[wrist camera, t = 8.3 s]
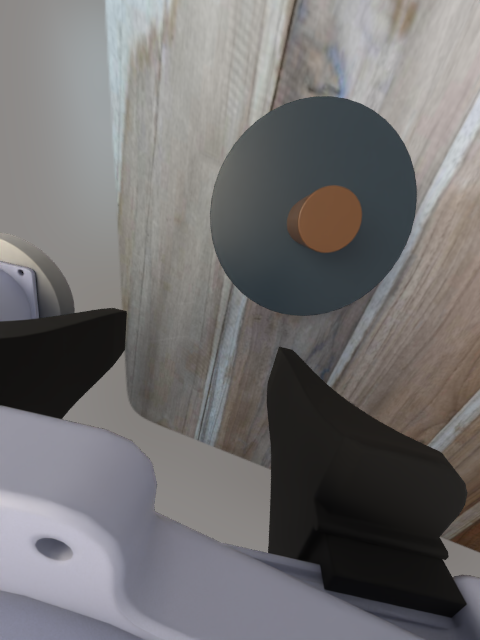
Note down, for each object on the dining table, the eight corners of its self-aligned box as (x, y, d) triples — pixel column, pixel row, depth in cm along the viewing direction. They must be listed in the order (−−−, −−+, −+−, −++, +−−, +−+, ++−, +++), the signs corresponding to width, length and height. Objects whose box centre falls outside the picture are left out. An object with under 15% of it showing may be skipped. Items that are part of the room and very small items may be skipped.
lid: (200, 289, 16) (174, 317, 11) (234, 83, 12) (217, -12, 7) (359, 326, 16) (402, 370, 11) (443, 134, 12) (565, 74, 7)
